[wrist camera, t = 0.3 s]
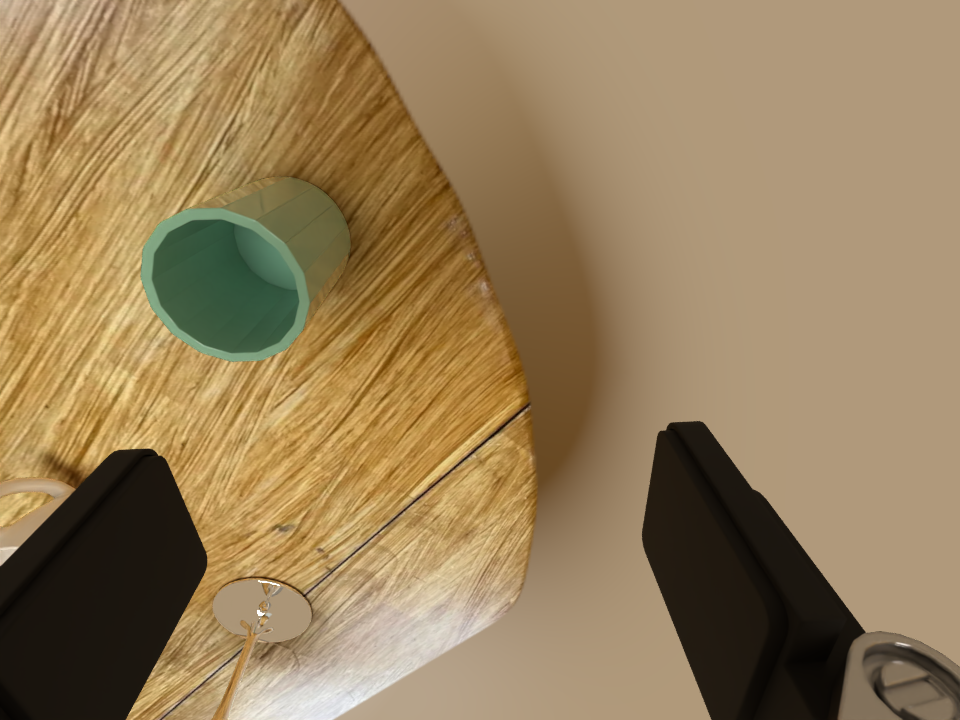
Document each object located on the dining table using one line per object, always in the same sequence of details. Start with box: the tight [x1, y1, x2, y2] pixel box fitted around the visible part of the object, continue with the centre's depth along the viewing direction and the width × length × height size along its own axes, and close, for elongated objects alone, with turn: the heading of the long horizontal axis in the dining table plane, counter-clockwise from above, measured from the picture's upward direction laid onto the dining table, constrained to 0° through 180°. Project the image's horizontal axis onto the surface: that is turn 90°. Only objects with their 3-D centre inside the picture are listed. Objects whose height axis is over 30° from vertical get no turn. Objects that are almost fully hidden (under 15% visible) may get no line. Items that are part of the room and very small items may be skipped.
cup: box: [0, 477, 76, 566], centre depth 30 cm, size 8×10×7 cm
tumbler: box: [141, 176, 351, 362], centre depth 22 cm, size 6×6×8 cm
